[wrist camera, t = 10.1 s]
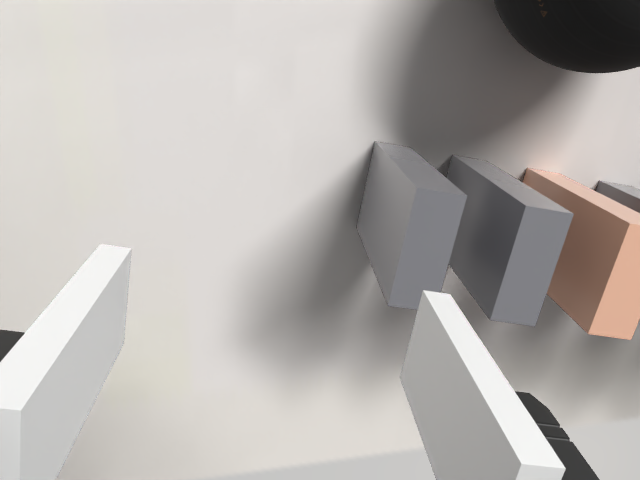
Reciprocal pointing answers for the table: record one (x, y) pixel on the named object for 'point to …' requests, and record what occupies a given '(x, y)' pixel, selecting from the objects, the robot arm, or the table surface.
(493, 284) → the domino
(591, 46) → the black ball
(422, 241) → the domino
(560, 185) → the domino
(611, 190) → the domino
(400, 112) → the table surface
